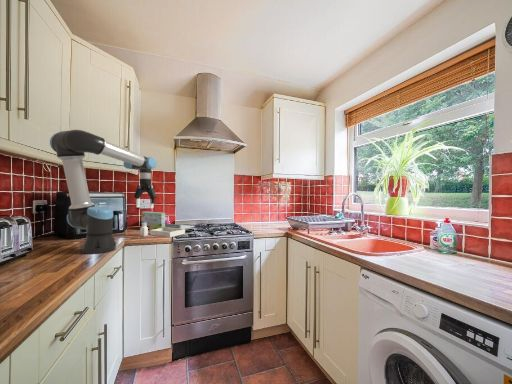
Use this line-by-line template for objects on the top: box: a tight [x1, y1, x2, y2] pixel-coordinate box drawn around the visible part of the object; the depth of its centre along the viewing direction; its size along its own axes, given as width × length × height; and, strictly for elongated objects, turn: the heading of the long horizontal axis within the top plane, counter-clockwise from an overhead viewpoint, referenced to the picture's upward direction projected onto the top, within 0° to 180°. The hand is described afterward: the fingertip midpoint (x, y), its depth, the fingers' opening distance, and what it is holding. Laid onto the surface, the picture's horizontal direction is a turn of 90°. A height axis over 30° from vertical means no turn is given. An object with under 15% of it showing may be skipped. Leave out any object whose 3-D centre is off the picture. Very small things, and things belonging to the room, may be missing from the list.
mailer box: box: [149, 228, 186, 238], centre depth 171 cm, size 16×20×4 cm
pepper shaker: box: [139, 223, 149, 237], centre depth 163 cm, size 4×4×10 cm
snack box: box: [140, 211, 166, 231], centre depth 192 cm, size 21×6×15 cm, turn 73°
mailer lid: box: [162, 223, 196, 230], centre depth 183 cm, size 16×20×3 cm
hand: (144, 207), depth 163 cm, fingers open, 13 cm apart
